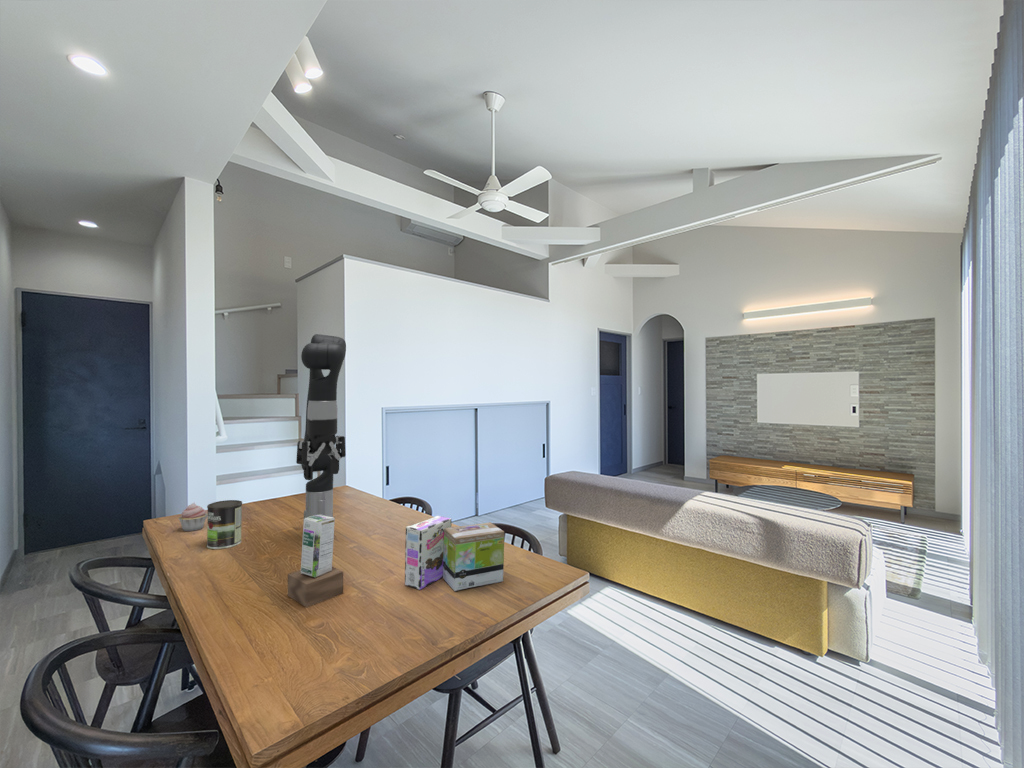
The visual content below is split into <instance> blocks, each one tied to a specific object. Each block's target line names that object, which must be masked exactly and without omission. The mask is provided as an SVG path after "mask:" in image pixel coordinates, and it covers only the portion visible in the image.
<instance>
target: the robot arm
mask: <svg viewBox="0 0 1024 768" xmlns="http://www.w3.org/2000/svg"><path fill="white" fill-rule="evenodd" d="M346 353H347V344H346V340H345V339H344V338H343V337H340V336H337V335H336V336H335V335H327V334H321V333H320V334H317V333H316V334H314V335H312V337H311V339H310V343H306V344H305V346H304V347H302V350H301V355H300V357H301V362H302V364H303V366H304V367H305V368H306V369H309V378H308V390H307V399H306V407H305V408H306V412H305V428H304V429H305V432H304V438H303V440H299V441H298V442H297V447H296V460H295V462H296V464H297V465H301V468H302V471H303V478H304V480H305V481H307V482H306V484H305V510H303V520H304V519H305V518H307V517H310V516H314V515H324V516H328V517H334V512H333V511H334V475H337V474H339V471H340V460H342V458H345V457H346V437H345V436H344V435H337V434H338V404H337V403H338V402H337V398H338V397H337V396H338V395H337V394H338V392H337V390H338V389H337V388H338V380H339V376H340V372H341V369H342V365H343V364H344V363H343V362H344V360H345V358H346ZM322 370H323V371H325V370H326V371H327V370H329V372H328V374H327V375H326V376H324V373H323V371H322ZM315 472H321V474H320V475H318V476H317V477H316V478H314V473H315Z"/></svg>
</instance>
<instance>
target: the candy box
mask: <svg viewBox="0 0 1024 768" xmlns="http://www.w3.org/2000/svg"><path fill="white" fill-rule="evenodd" d="M451 527H452V518H451V517H446V516H441V515H435V516H433V517H430V518H428V519H424V520H423V521H420V522H416V523H414V524H411V525H407V526H405V547H404V548H405V553H404V555H405V556H404V557H405V558H404V585H405V586H407V587H411V588H413V589H416V590H422V589H424V588H426V587H427V586H430V585H431V584H433V583H434V582H437V581H439V580H441V579H443V552H444V529H445V528H451Z"/></svg>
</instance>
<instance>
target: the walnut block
mask: <svg viewBox="0 0 1024 768" xmlns="http://www.w3.org/2000/svg"><path fill="white" fill-rule="evenodd" d="M342 594H344V571H342V570H340V569H338V568H336V567H334V566H332V570H331V571H329V572H327V573H325V574H323V575H320V576H318V577H315V578H314V577H312V576H309V575H306V574H301V569H298V570H295V571H293V572H290V573H287V596H288V597H289V598H291V599H292V600H293V601H295V602H297V603H298V604H300V605H301V606H303V607H305V608H308V607H309V608H310V607H312V606H314V605H317V604H319V603H322V602H324V601H327V600H330V599H333V598H335V597H338V596H340V595H342Z"/></svg>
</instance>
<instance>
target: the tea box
mask: <svg viewBox="0 0 1024 768" xmlns="http://www.w3.org/2000/svg"><path fill="white" fill-rule="evenodd" d="M504 553H505V531H504V530H502V529H501V528H500V527H498V526H497V525H496V524H494V523H492V522H490V521H489V522H483V523H482V522H481V523H476V524H475V523H474V524H468V525H461V526H459V525H458V526H454V527H453V526H451V528H445V529H444V552H443V577H442V579H443V580H444V581H445V583H447V585H448V586H449V587H450V588H451V589H452V590H453V591H454V592H457V591H461V590H465V589H469V588H475V587H481V586H487V585H491V584H497V583H501V582H504V570H505V568H504V566H505V563H504V561H505V560H504V558H505V554H504Z"/></svg>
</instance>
